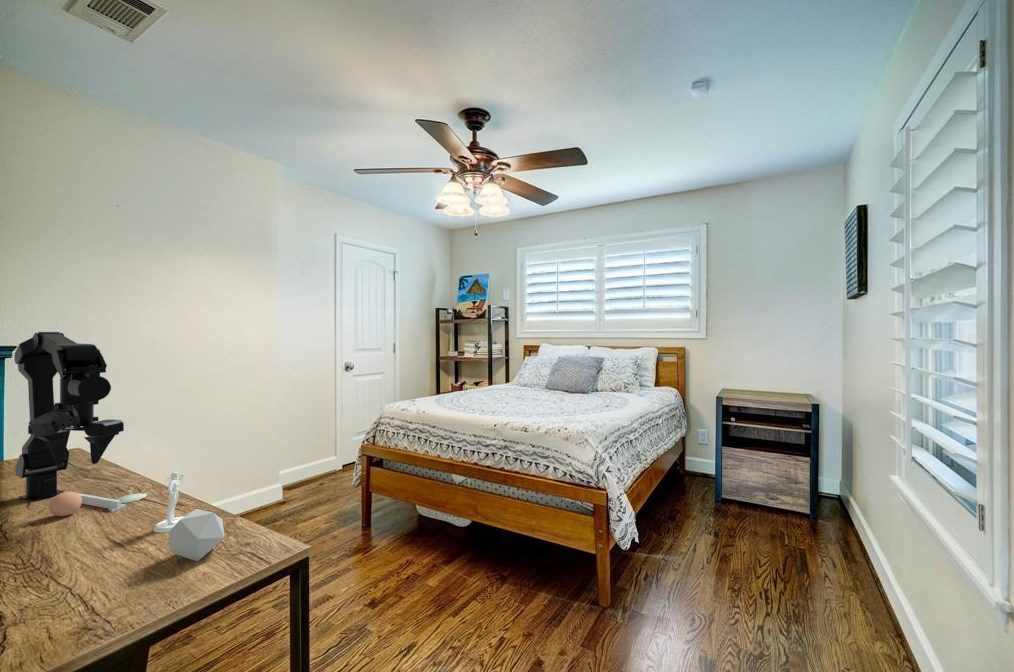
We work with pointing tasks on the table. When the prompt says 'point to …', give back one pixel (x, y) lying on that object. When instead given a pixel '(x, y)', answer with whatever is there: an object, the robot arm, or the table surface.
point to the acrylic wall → (102, 502)
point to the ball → (65, 503)
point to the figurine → (170, 505)
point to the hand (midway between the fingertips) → (76, 462)
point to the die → (196, 534)
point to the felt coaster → (131, 498)
